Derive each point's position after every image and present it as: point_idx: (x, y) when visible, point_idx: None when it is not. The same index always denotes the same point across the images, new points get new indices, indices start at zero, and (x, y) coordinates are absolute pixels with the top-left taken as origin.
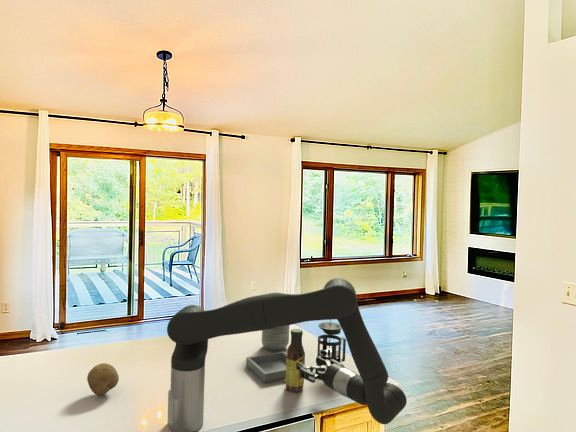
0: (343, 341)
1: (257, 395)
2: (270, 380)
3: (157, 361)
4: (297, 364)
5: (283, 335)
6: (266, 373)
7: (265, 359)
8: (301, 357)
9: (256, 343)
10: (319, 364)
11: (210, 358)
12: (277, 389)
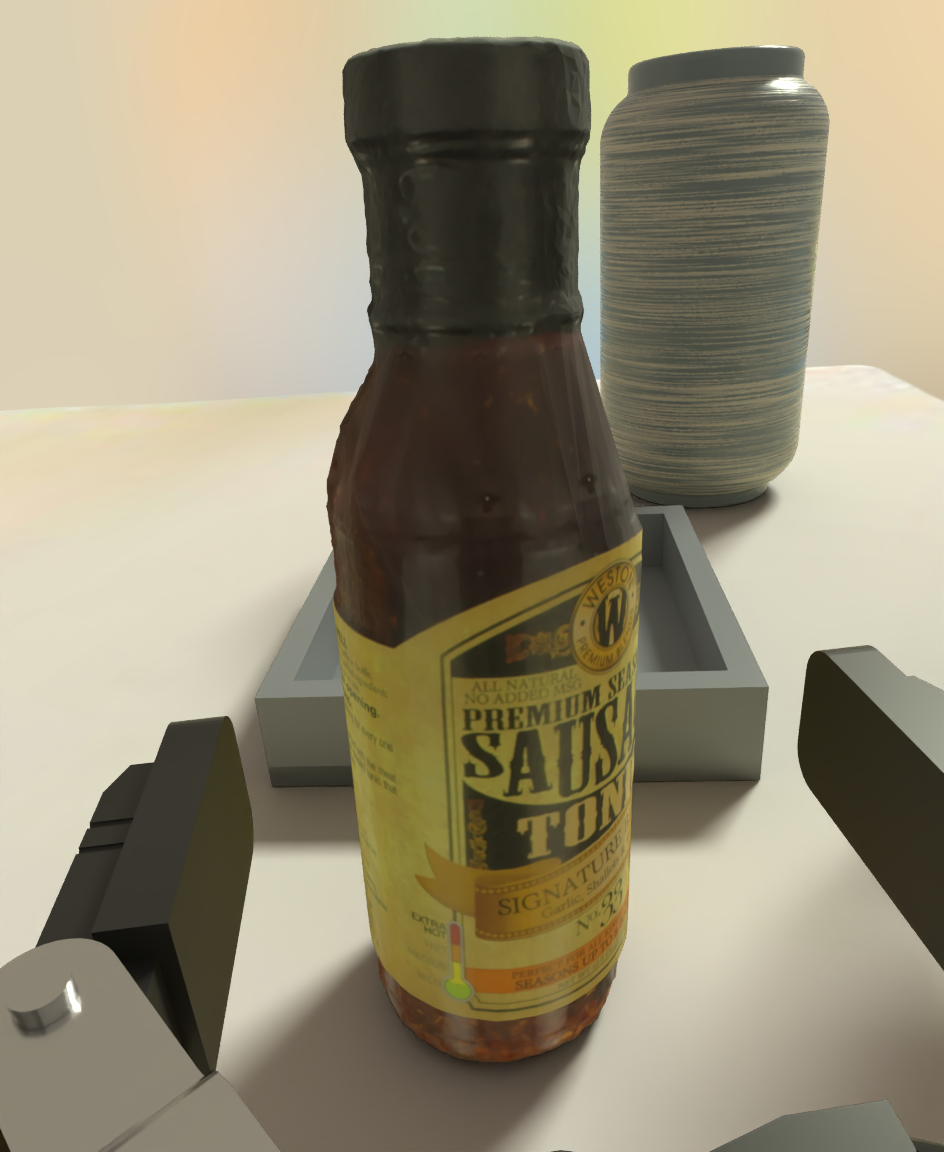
0: None
1: (6, 944)
2: (336, 766)
3: (6, 490)
4: (145, 776)
5: (734, 391)
6: (277, 695)
7: None
8: (499, 601)
9: None
10: (859, 845)
11: (245, 504)
12: (299, 913)
